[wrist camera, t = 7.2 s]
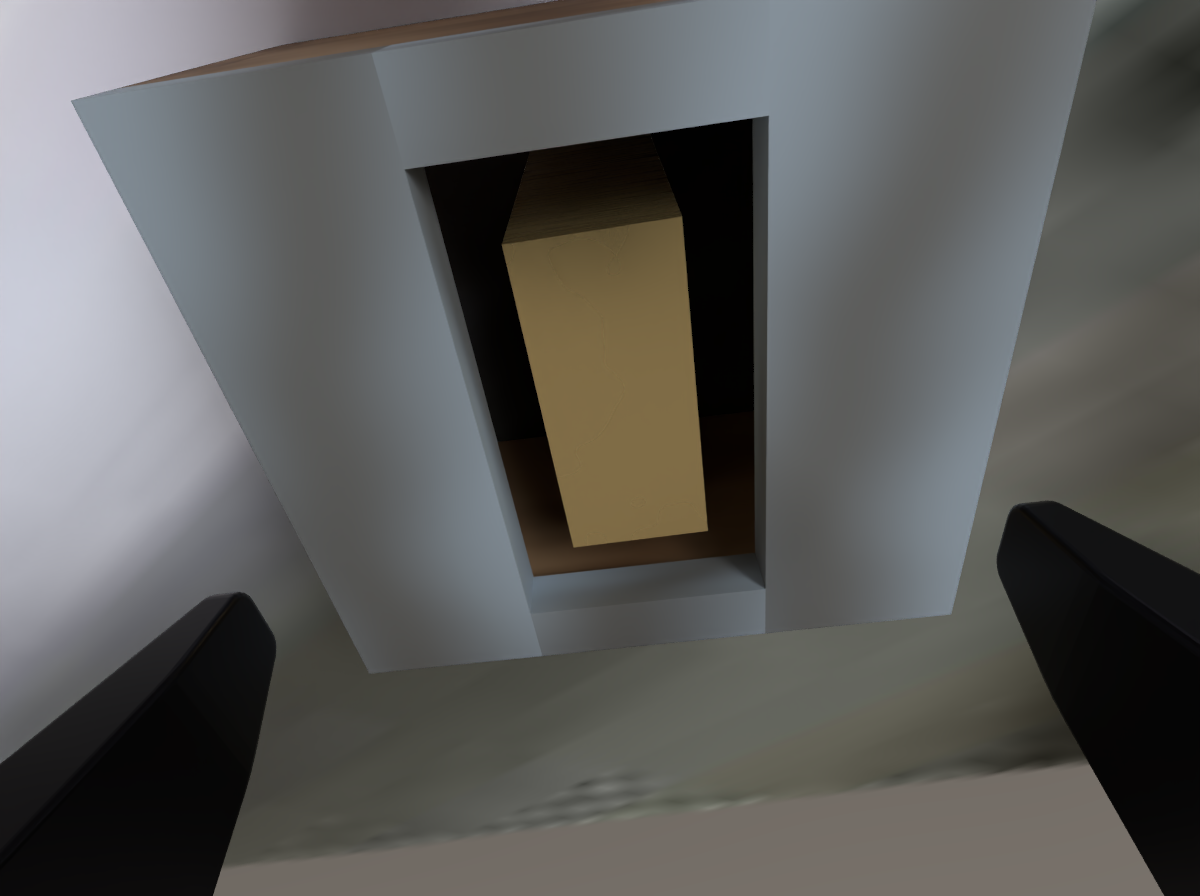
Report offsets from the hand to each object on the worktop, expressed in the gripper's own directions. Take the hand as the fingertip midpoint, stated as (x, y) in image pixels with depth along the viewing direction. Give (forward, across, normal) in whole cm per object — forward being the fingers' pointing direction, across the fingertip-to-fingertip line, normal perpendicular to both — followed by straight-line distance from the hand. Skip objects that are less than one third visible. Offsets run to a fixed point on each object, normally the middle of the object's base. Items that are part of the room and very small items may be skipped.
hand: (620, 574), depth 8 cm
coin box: (+10, 0, 0) cm, 10 cm away
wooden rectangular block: (+10, 0, 0) cm, 11 cm away
